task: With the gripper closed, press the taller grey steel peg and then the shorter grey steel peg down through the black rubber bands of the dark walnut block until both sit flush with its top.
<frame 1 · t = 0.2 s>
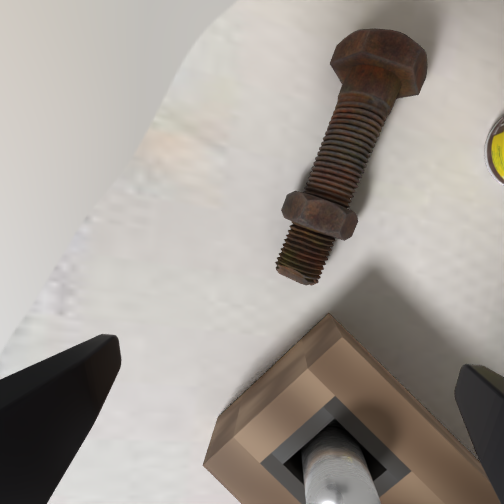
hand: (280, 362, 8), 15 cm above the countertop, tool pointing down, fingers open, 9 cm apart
peg short: (335, 474, 19), point 6 cm above the countertop, slide at 3.0 cm
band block: (374, 467, 24), on the countertop
bolt: (329, 176, 23), on the countertop
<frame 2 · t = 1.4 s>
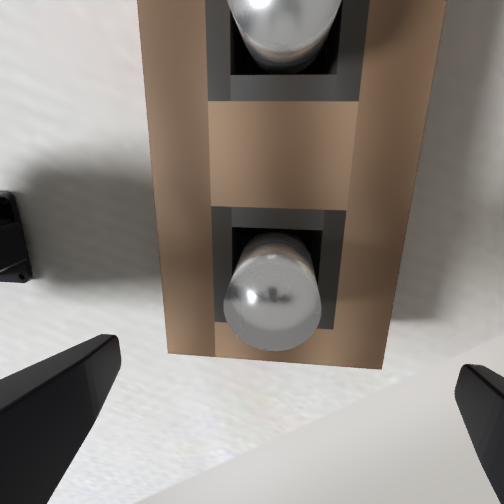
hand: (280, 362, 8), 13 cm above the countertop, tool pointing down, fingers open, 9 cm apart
peg short: (285, 5, 12), point 6 cm above the countertop, slide at 3.0 cm
peg tall: (273, 283, 15), point 7 cm above the countertop, slide at 4.0 cm
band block: (281, 153, 19), on the countertop
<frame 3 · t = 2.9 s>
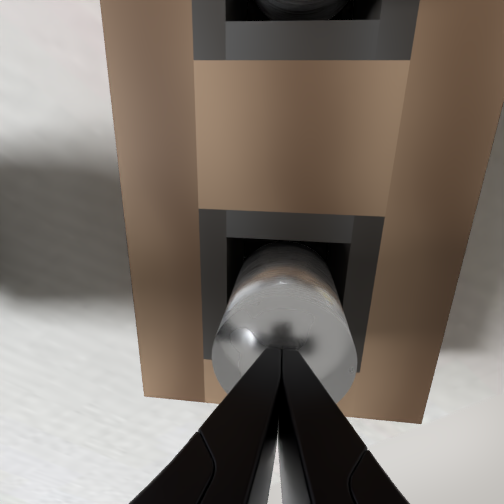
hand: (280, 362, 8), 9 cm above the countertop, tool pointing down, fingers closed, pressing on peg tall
peg tall: (283, 316, 11), point 7 cm above the countertop, slide at 3.9 cm, touching gripper
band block: (291, 141, 15), on the countertop
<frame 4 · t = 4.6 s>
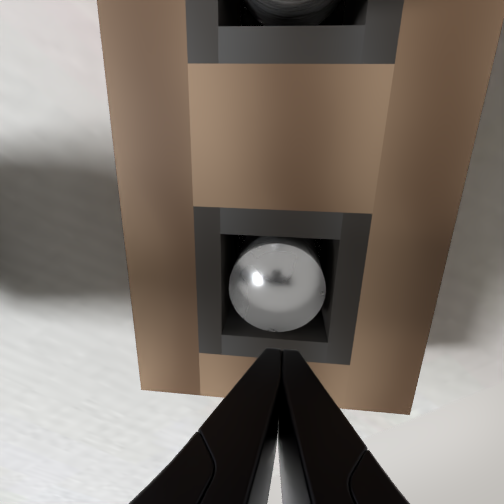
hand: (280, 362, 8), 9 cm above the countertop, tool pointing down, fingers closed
peg tall: (277, 267, 15), point 3 cm above the countertop, slide at -0.1 cm
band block: (284, 141, 15), on the countertop
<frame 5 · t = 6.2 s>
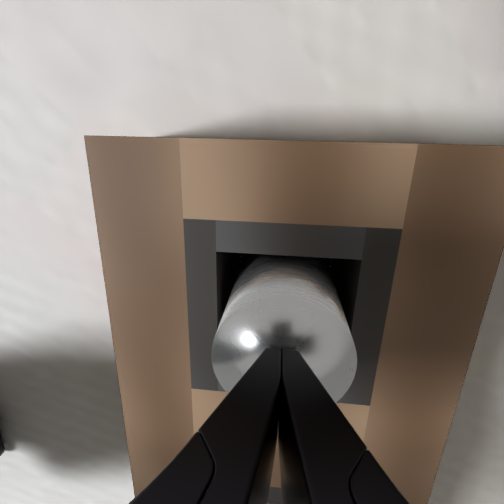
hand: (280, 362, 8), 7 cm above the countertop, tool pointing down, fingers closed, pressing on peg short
peg short: (283, 315, 11), point 5 cm above the countertop, slide at 2.2 cm, touching gripper
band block: (278, 360, 17), on the countertop
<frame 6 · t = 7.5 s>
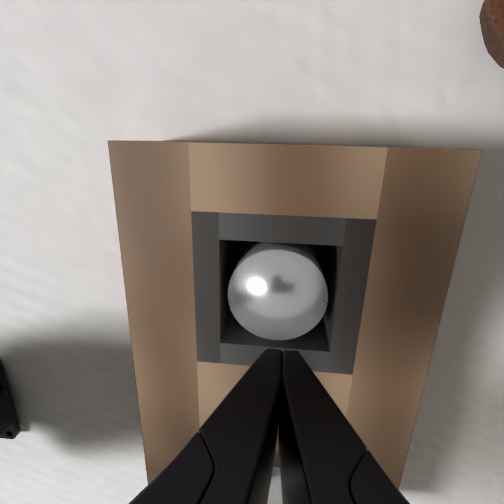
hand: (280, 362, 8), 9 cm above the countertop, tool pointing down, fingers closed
peg short: (278, 273, 14), point 3 cm above the countertop, slide at -0.1 cm
peg tall: (268, 453, 18), point 3 cm above the countertop, slide at -0.1 cm
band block: (274, 343, 19), on the countertop
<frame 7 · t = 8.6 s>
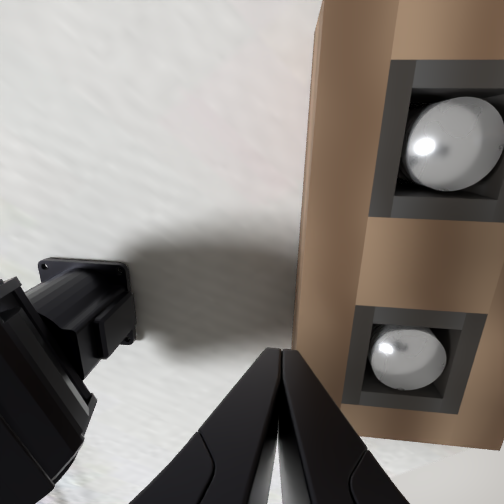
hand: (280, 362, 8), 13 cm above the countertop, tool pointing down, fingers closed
peg short: (431, 145, 16), point 3 cm above the countertop, slide at -0.1 cm
peg tall: (394, 336, 19), point 3 cm above the countertop, slide at -0.1 cm
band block: (396, 237, 20), on the countertop
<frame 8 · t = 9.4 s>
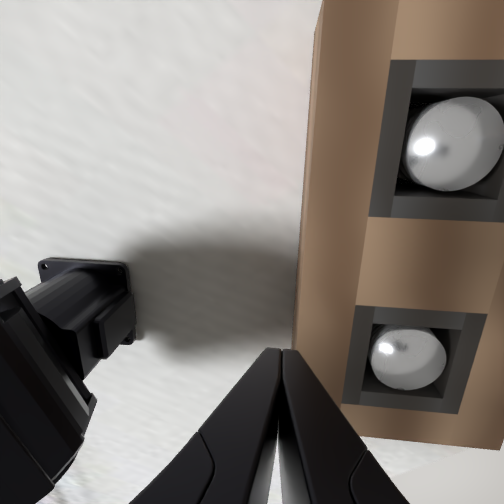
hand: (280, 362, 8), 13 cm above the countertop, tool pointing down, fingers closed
peg short: (431, 145, 16), point 3 cm above the countertop, slide at -0.1 cm
peg tall: (394, 335, 19), point 3 cm above the countertop, slide at -0.1 cm
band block: (396, 237, 20), on the countertop
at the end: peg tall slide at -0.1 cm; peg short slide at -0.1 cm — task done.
